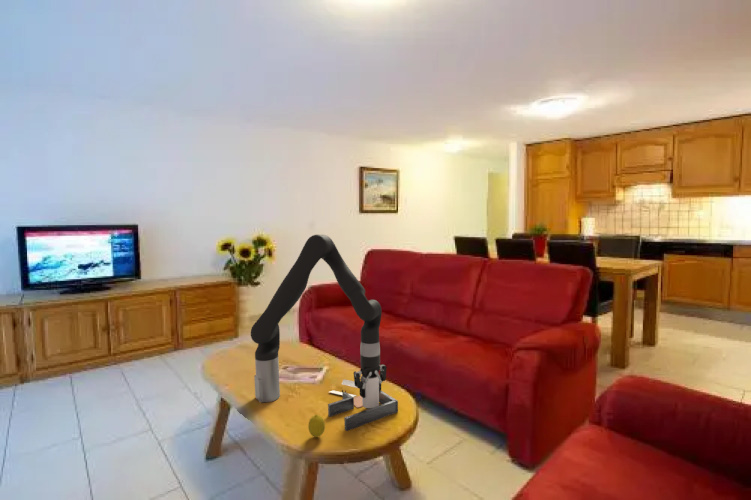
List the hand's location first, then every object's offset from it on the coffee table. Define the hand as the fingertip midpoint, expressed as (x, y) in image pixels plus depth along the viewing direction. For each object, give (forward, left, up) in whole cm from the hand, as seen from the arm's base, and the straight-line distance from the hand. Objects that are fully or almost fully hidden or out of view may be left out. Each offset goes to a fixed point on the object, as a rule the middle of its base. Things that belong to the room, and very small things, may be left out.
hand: (370, 394), depth 155 cm
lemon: (-26, -5, -6) cm, 27 cm away
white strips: (+1, +20, -7) cm, 21 cm away
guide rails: (-5, +1, -6) cm, 8 cm away
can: (0, 0, -4) cm, 4 cm away
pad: (0, +8, -6) cm, 10 cm away
